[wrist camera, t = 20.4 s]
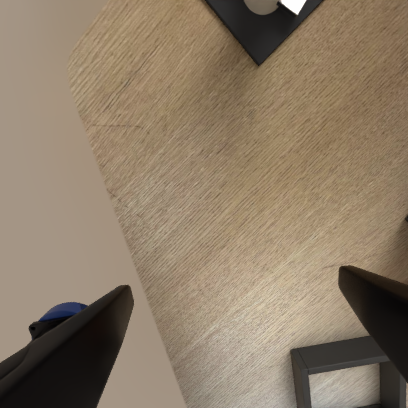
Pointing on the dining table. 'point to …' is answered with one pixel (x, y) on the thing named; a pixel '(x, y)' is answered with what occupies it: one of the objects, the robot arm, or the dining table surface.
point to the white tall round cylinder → (275, 6)
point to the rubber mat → (259, 25)
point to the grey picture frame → (346, 358)
